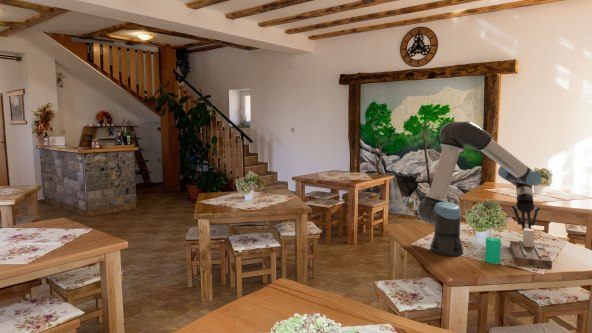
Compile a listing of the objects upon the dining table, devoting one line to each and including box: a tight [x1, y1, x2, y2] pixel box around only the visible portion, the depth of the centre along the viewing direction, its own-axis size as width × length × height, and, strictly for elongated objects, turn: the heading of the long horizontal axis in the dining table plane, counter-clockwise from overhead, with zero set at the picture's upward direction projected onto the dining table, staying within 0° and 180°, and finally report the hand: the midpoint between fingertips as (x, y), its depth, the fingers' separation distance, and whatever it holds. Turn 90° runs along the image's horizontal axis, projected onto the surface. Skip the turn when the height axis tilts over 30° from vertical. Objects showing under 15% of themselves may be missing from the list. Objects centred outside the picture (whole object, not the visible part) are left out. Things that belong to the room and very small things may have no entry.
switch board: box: [509, 240, 553, 269], centre depth 192 cm, size 14×28×4 cm, turn 157°
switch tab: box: [522, 228, 535, 247], centre depth 197 cm, size 4×4×8 cm
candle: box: [484, 235, 502, 265], centre depth 185 cm, size 6×6×12 cm
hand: (527, 236), depth 202 cm, fingers closed
